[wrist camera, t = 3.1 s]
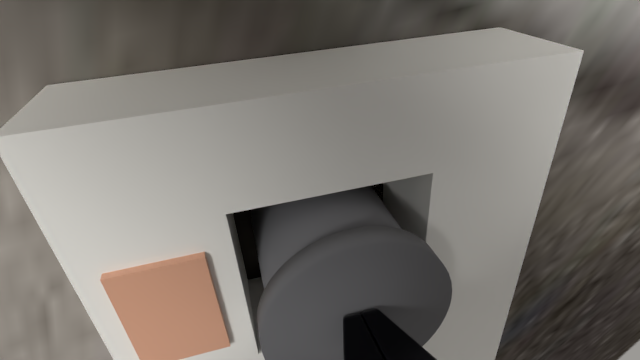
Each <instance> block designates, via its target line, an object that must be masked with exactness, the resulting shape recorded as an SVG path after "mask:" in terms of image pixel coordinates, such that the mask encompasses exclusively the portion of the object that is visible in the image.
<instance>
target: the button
mask: <svg viewBox="0 0 640 360" xmlns="http://www.w3.org/2000/svg"><path fill="white" fill-rule="evenodd" d="M251 222H252V228H253V234H254V239H255V244H256V249H257V255H258V260H259V265H260V271H261V276H262V281H263V287H264V291H263V293H262V295H261V298H260V301H259V305H258V309H257V325H258V332H259V339H260V345H261V351H262V354H263V356H264V359H265V360H344V354H343V317H345V316H348V315H352V314H356V313H359V314H361V312H363V311H367V310H371V309H379V310H380V311H381V312H382V313H384V314H385V315H386V316H387V317H388V318H389V319H391V320H392V321H393V322H394V323H395V324H396V325H398V326H399V327H400V328H401V329H402V330H403V331H404V332H406V333H407V334H408V335H409V336H410V337H411V338H413V339H414V340H415V341H416V342H417V343H418V344H420V345H421V346H423V345H424V344H425V343H427V342H428V341H429V339H430V338H431V337H432V336H433V335H434V334H435V332H436V331H437V330H438V328H439V327H440V325H441V324H442V322H443V320H444V318H445V317H446V314H447V312H448V309H449V307H450V303H451V299H452V282H451V279H450V275H449V273H448V271H447V269H446V267H445V266H444V264H443V263H442V262H441V261H440V259H439V258H438V257H437V255H436V254H435V253H434V251H433V250H432V249H431V248H430V246H429V245H428V244H427V243H426V242H425V241H424V240H422V239H421V238H420V237H418V236H417V235H415V234H413V233H411V232H409V231H406V230H403V229H401V227H400V226H399V224H398V223H397V222H396V220H395V219H394V217H393V216H392V215H391V213H390V212H389V210H388V209H387V208H386V206H385V205H384V203H383V202H382V201H381V199H380V198H379V196H378V195H377V193H376V192H375V191H374V189H373V188H372V186H366V187H361V188H356V189H351V190H346V191H341V192H336V193H331V194H326V195H321V196H316V197H311V198H306V199H301V200H296V201H291V202H286V203H281V204H276V205H271V206H266V207H261V208H256V209H252V210H251Z"/></svg>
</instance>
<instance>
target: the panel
mask: <svg viewBox="0 0 640 360" xmlns="http://www.w3.org/2000/svg"><path fill="white" fill-rule="evenodd" d="M583 52H584V50H580V49H577V48H573V47H570V46H566V45H562V44H559V43H555V42H551V41H548V40H544V39H541V38H537V37H533V36H530V35H526V34H523V33H519V32H515V31H512V30H508V29H505V28H501V27H497V28H490V29H482V30H474V31H466V32H458V33H451V34H443V35H435V36H427V37H419V38H412V39H404V40H396V41H388V42H380V43H373V44H365V45H357V46H349V47H341V48H334V49H326V50H318V51H310V52H302V53H295V54H287V55H279V56H271V57H263V58H256V59H248V60H240V61H232V62H224V63H217V64H209V65H201V66H193V67H185V68H177V69H170V70H162V71H154V72H146V73H138V74H131V75H123V76H115V77H107V78H99V79H92V80H84V81H76V82H68V83H60V84H53V85H47V86H45V87H44V88H43V89H42V90H41V91H40V92H39V93H38V94H37V95H36V96H35V97H34V98H33V99H31V100H30V101H29V102H28V103H27V104H26V105H25V106H24V107H23V108H22V109H21V110H20V111H19V112H18V113H16V114H15V115H14V116H13V117H12V118H11V119H10V120H9V121H8V122H7V123H6V124H5V125H4V126H2V127H1V128H0V157H1V158H2V160H3V162H4V164H5V166H6V167H7V169H8V171H9V173H10V175H11V176H12V178H13V180H14V182H15V183H16V185H17V187H18V189H19V191H20V192H21V194H22V196H23V198H24V200H25V201H26V203H27V205H28V207H29V209H30V210H31V212H32V214H33V216H34V218H35V219H36V221H37V223H38V225H39V227H40V228H41V230H42V232H43V234H44V235H45V237H46V239H47V241H48V243H49V244H50V246H51V248H52V250H53V252H54V253H55V255H56V257H57V259H58V261H59V262H60V264H61V266H62V268H63V270H64V271H65V273H66V275H67V277H68V279H69V280H70V282H71V284H72V286H73V287H74V289H75V291H76V293H77V295H78V296H79V298H80V300H81V302H82V304H83V305H84V307H85V309H86V311H87V313H88V314H89V316H90V318H91V320H92V322H93V323H94V325H95V327H96V329H97V331H98V332H99V334H100V336H101V338H102V339H103V341H104V343H105V345H106V347H107V348H108V350H109V352H110V354H111V356H112V357H113V359H114V360H265V359H264V356H263V354H262V351H261V345H260V339H259V332H258V325H257V309H258V305H259V301H260V298H261V295H262V293H263V291H264V287H263V281H262V277H258V278H253V279H249V280H248V279H247V274H246V270H245V265H244V261H243V256H242V252H241V247H240V243H239V238H238V234H237V229H236V225H235V220H234V216H233V213H236V212H241V211H246V210H251V209H256V208H261V207H266V206H271V205H276V204H281V203H286V202H291V201H296V200H301V199H306V198H311V197H316V196H321V195H326V194H331V193H336V192H341V191H346V190H351V189H356V188H361V187H366V186H371V185H376V184H381V183H383V203H384V205H385V206H386V208H387V209H388V210H389V212H390V213H391V215H392V216H393V217H394V219H395V220H396V222H397V223H398V224H399V226H400V227H401V229H403V230H406V231H409V232H411V233H413V234H415V235H417V236H418V237H420V238H421V239H422V240H424V241H425V242H426V243H427V244H428V245H429V246H430V248H431V249H432V250H433V251H434V253H435V254H436V255H437V257H438V258H439V259H440V261H441V262H442V263H443V264H444V266H445V267H446V269H447V271H448V273H449V275H450V279H451V282H452V299H451V303H450V307H449V309H448V312H447V314H446V317H445V318H444V320H443V322H442V324H441V325H440V327H439V328H438V330H437V331H436V332H435V334H434V335H433V336H432V337H431V338H430V339H429V341H428V342H427V343H425V344H424V345H423V346H422V347H423V348H424V349H425V350H426V351H428V352H429V353H430V354H431V355H432V356H433V357H435V358H436V359H437V360H495V357H496V354H497V350H498V347H499V344H500V340H501V337H502V333H503V330H504V326H505V323H506V319H507V316H508V312H509V309H510V305H511V302H512V298H513V295H514V291H515V288H516V285H517V281H518V278H519V274H520V271H521V267H522V264H523V260H524V257H525V253H526V250H527V246H528V243H529V239H530V236H531V232H532V229H533V226H534V222H535V219H536V215H537V212H538V208H539V205H540V201H541V198H542V194H543V191H544V187H545V184H546V180H547V177H548V173H549V170H550V167H551V163H552V160H553V156H554V153H555V149H556V146H557V142H558V139H559V135H560V132H561V128H562V125H563V121H564V118H565V114H566V111H567V107H568V104H569V101H570V97H571V94H572V90H573V87H574V83H575V80H576V76H577V73H578V69H579V66H580V62H581V59H582V55H583Z"/></svg>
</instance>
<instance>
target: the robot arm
mask: <svg viewBox="0 0 640 360" xmlns="http://www.w3.org/2000/svg"><path fill="white" fill-rule="evenodd" d="M343 354H344V360H437V359H436V358H435V357H433V356H432V355H431V354H430V353H429V352H428V351H426V350H425V349H424V348H423V347H422V346H421V345H420V344H418V343H417V342H416V341H415V340H414V339H413V338H411V337H410V336H409V335H408V334H407V333H406V332H404V331H403V330H402V329H401V328H400V327H399V326H398V325H396V324H395V323H394V322H393V321H392V320H391V319H389V318H388V317H387V316H386V315H385V314H384V313H382V312H381V311H380V310H379V309H371V310H367V311H363V312H361V314H359V313H356V314H352V315H348V316H345V317H343Z"/></svg>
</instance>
